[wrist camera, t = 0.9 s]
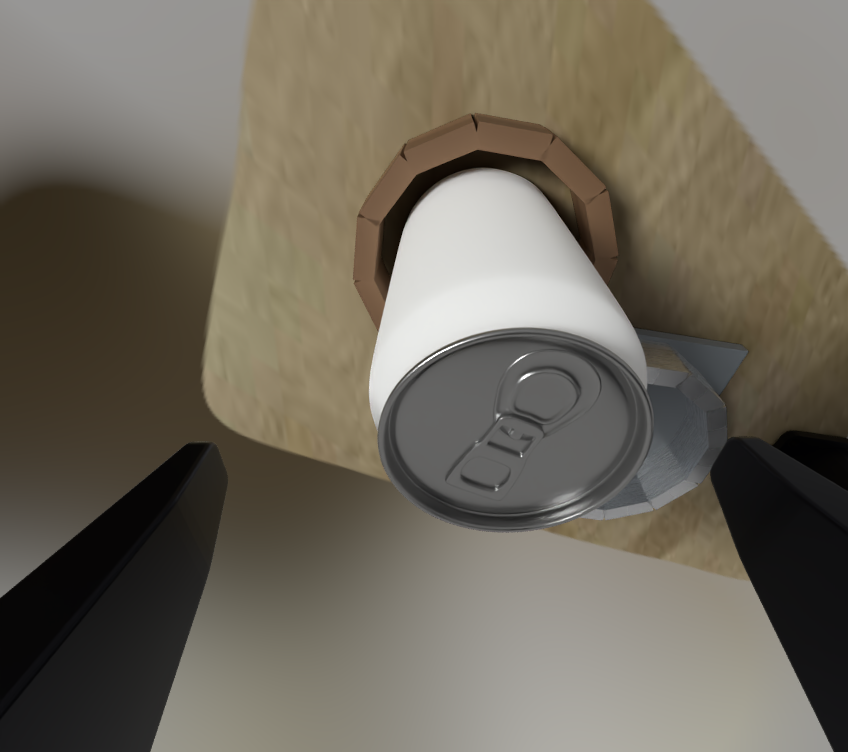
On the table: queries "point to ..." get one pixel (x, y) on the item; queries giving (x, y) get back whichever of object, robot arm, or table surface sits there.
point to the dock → (678, 419)
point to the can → (504, 364)
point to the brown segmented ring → (458, 142)
